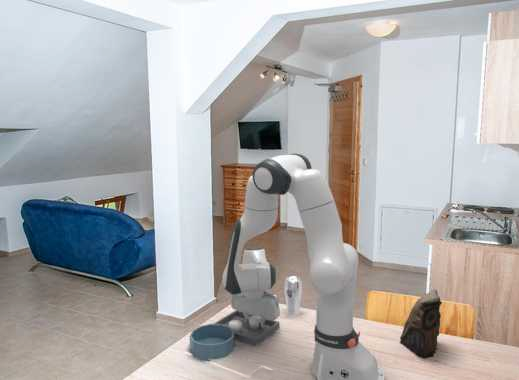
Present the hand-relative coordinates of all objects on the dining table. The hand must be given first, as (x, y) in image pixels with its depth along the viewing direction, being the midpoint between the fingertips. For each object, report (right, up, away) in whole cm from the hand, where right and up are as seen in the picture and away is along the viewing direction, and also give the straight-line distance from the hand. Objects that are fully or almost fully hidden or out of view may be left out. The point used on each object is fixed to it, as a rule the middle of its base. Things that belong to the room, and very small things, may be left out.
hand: (255, 324), depth 160 cm
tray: (-4, -2, -2) cm, 4 cm away
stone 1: (-7, -2, -3) cm, 8 cm away
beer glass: (+15, 0, +12) cm, 20 cm away
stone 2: (0, -1, 0) cm, 1 cm away
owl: (+57, -4, -14) cm, 58 cm away
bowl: (-14, -4, -14) cm, 20 cm away
